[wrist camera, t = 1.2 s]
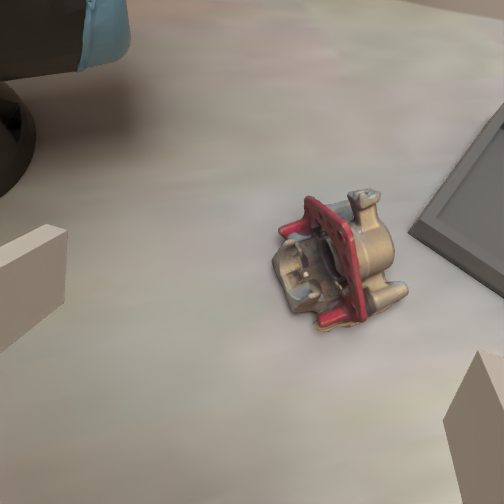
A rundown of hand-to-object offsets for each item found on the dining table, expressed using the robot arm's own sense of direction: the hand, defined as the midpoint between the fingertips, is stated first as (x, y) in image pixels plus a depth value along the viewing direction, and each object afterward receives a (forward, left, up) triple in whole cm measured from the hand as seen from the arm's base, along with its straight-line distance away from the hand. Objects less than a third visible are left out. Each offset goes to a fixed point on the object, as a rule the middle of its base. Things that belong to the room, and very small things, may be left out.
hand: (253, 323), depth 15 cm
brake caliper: (0, +12, -26) cm, 29 cm away
